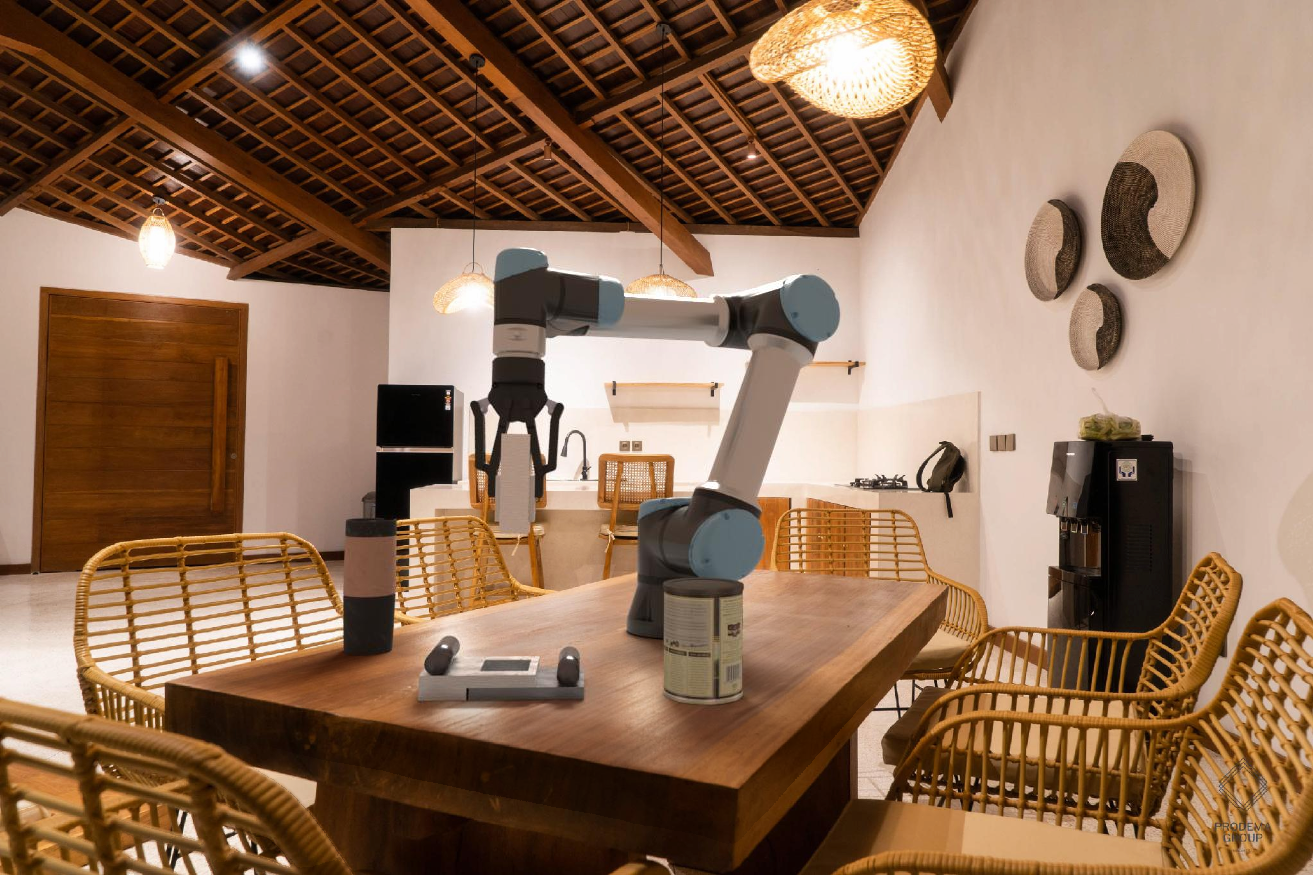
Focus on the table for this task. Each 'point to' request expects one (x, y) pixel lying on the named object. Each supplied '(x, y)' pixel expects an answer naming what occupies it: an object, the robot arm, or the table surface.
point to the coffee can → (703, 640)
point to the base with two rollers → (498, 676)
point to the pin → (515, 483)
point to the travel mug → (369, 585)
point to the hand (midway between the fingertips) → (515, 520)
